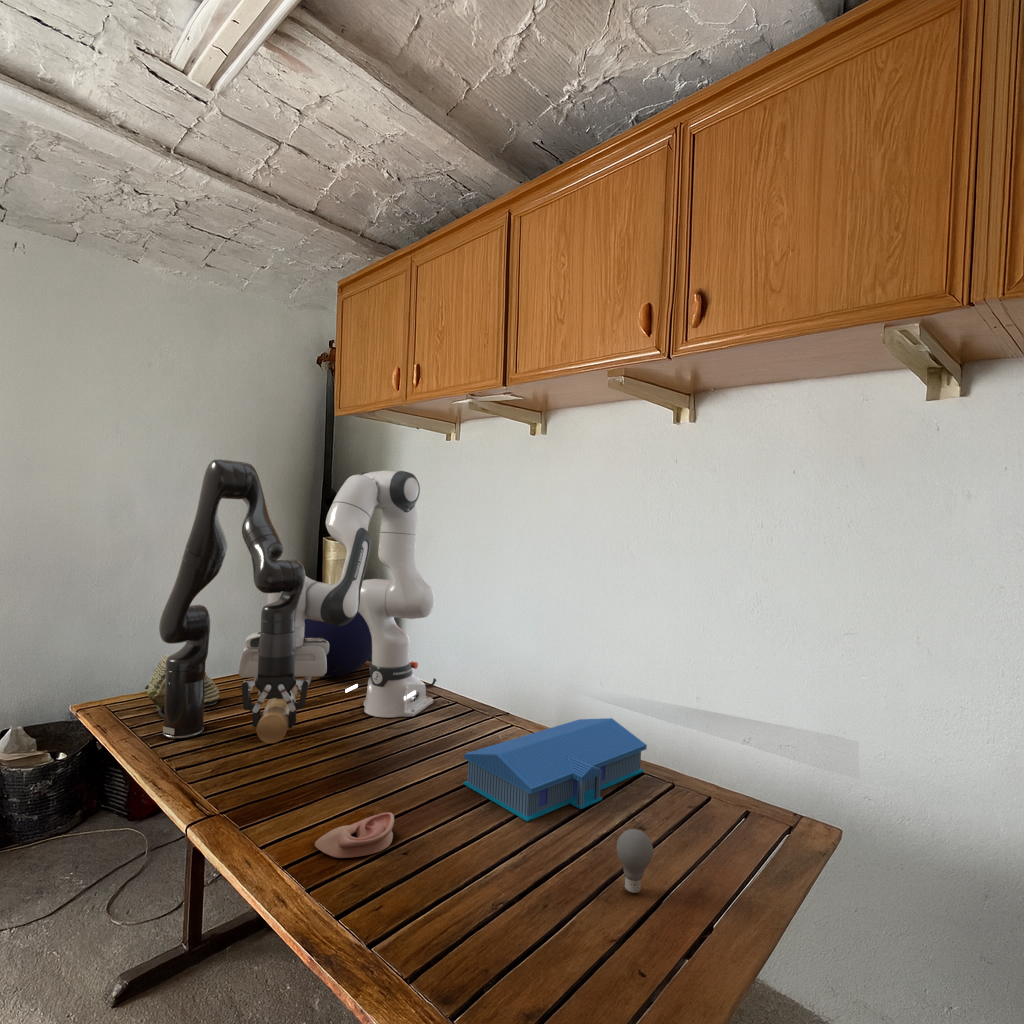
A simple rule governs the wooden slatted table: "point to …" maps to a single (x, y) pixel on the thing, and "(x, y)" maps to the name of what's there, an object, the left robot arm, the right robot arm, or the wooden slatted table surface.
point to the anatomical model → (358, 837)
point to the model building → (555, 766)
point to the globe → (343, 644)
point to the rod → (275, 719)
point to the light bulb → (634, 857)
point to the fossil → (158, 687)
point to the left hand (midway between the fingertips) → (274, 727)
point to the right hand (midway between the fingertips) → (282, 694)
